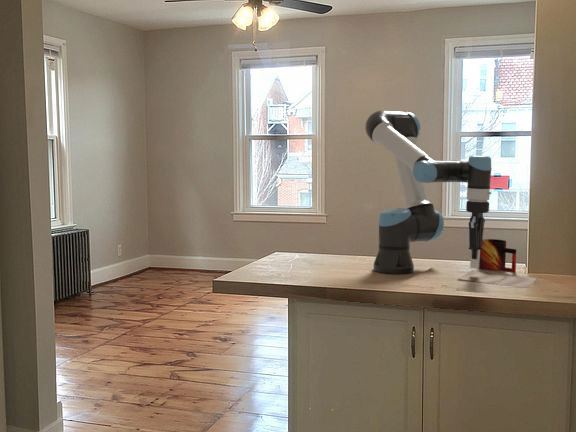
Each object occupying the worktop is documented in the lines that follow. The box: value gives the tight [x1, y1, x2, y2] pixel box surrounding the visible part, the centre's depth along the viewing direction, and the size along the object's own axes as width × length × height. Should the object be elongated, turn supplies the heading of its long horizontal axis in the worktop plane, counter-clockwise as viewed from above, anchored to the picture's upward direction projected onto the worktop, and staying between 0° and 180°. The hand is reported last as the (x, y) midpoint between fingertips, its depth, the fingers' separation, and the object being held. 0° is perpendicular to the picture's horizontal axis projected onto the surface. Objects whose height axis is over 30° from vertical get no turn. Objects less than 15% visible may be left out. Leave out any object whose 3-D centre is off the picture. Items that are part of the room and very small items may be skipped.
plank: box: [457, 270, 507, 285], centre depth 211 cm, size 12×18×1 cm, turn 149°
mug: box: [478, 238, 517, 273], centre depth 228 cm, size 10×14×12 cm
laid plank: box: [495, 274, 537, 289], centre depth 205 cm, size 10×18×1 cm, turn 149°
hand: (474, 267), depth 212 cm, fingers closed
